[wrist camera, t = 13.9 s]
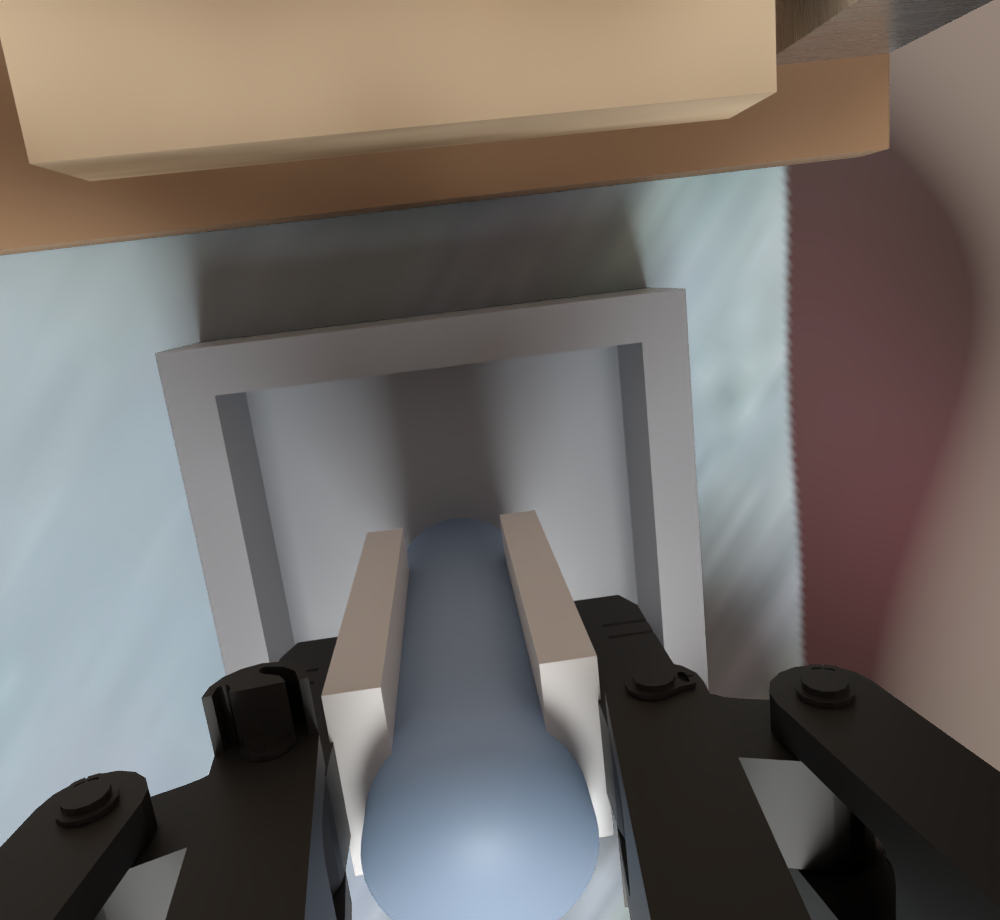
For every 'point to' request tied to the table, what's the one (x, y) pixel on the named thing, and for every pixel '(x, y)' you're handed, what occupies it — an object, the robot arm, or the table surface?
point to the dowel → (473, 755)
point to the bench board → (442, 166)
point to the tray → (442, 456)
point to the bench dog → (857, 26)
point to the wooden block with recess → (363, 75)
